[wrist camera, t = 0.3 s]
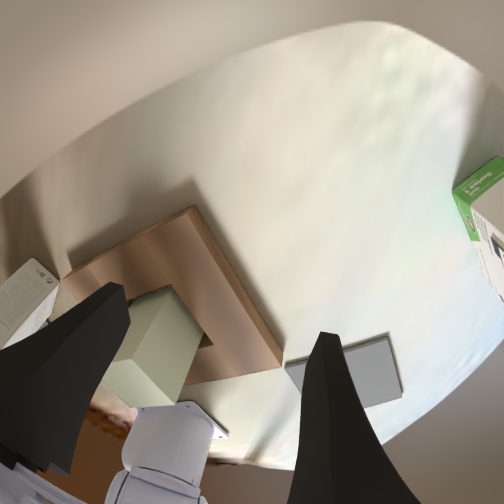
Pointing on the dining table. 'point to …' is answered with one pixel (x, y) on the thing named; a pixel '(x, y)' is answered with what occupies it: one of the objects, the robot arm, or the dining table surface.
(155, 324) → the sage block
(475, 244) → the ink box
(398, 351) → the dining table surface
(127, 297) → the pocket block
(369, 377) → the rubber pad
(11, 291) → the skincare box
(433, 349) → the dining table surface
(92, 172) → the dining table surface
